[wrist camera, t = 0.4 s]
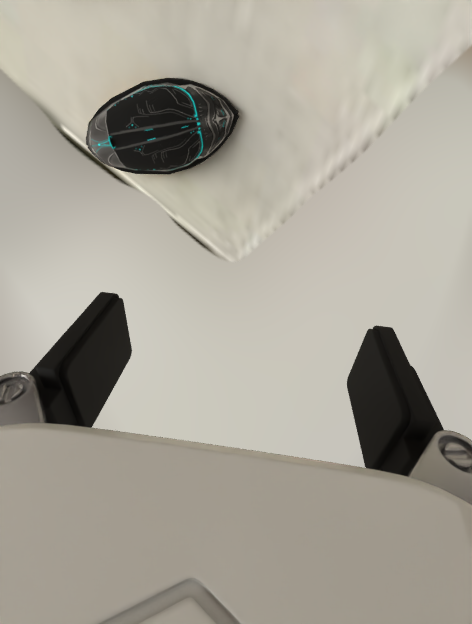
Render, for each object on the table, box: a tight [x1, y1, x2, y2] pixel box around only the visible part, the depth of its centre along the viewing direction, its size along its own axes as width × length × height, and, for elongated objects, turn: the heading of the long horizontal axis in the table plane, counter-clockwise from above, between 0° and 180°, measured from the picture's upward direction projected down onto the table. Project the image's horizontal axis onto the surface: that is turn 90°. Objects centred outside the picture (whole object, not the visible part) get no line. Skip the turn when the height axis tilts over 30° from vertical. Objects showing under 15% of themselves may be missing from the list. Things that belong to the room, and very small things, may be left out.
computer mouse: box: [86, 78, 239, 174], centre depth 32 cm, size 9×17×6 cm, turn 100°
